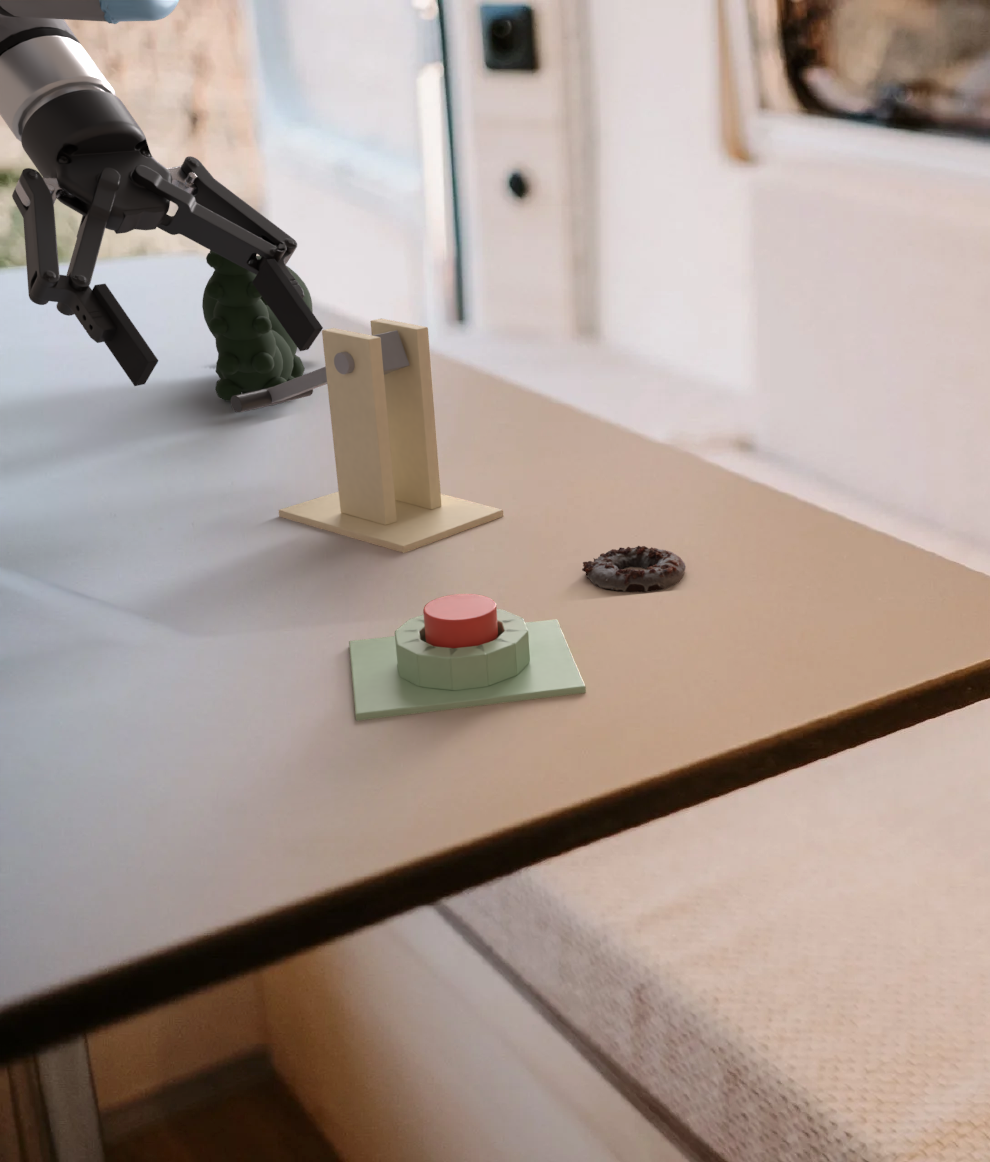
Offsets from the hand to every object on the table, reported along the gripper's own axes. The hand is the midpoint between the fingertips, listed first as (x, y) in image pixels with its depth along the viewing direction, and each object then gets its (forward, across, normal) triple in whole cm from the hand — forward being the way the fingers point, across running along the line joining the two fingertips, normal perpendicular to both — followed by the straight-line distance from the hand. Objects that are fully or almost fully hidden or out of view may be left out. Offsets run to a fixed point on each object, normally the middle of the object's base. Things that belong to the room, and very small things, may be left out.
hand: (233, 356), depth 104 cm
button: (+31, +17, +23) cm, 42 cm away
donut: (+32, -1, +18) cm, 37 cm away
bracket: (+18, 0, +4) cm, 18 cm away
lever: (+8, 0, +7) cm, 10 cm away
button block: (+34, +17, +20) cm, 43 cm away
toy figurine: (-9, -19, -23) cm, 31 cm away
